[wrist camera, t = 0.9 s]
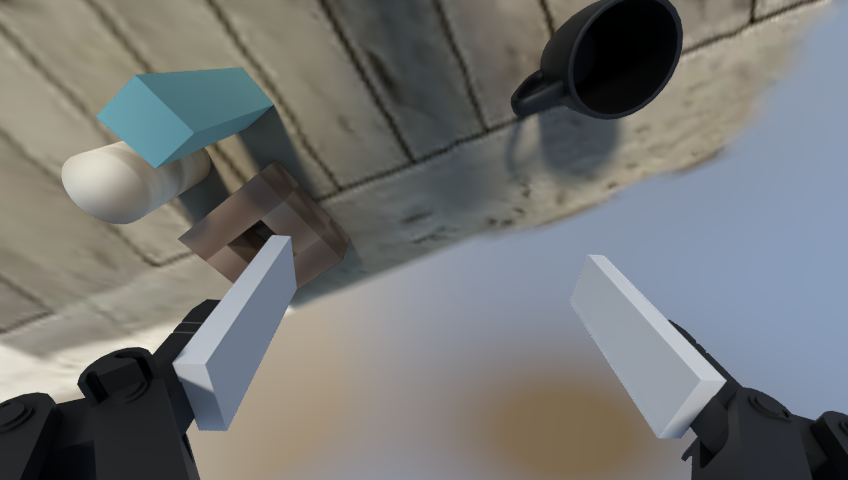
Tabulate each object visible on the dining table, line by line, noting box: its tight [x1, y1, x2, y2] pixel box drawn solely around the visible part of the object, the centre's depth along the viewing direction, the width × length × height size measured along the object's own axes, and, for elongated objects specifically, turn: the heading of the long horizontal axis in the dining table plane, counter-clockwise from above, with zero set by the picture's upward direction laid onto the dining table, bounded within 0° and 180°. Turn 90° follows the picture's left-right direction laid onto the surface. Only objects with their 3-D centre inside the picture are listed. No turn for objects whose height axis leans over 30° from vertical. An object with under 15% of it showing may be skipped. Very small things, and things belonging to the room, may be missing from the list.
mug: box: [511, 0, 683, 120], centre depth 28 cm, size 8×12×10 cm
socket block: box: [178, 160, 350, 290], centre depth 37 cm, size 12×12×5 cm
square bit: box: [96, 67, 274, 169], centre depth 27 cm, size 4×4×14 cm
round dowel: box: [62, 141, 211, 224], centre depth 31 cm, size 6×6×10 cm
